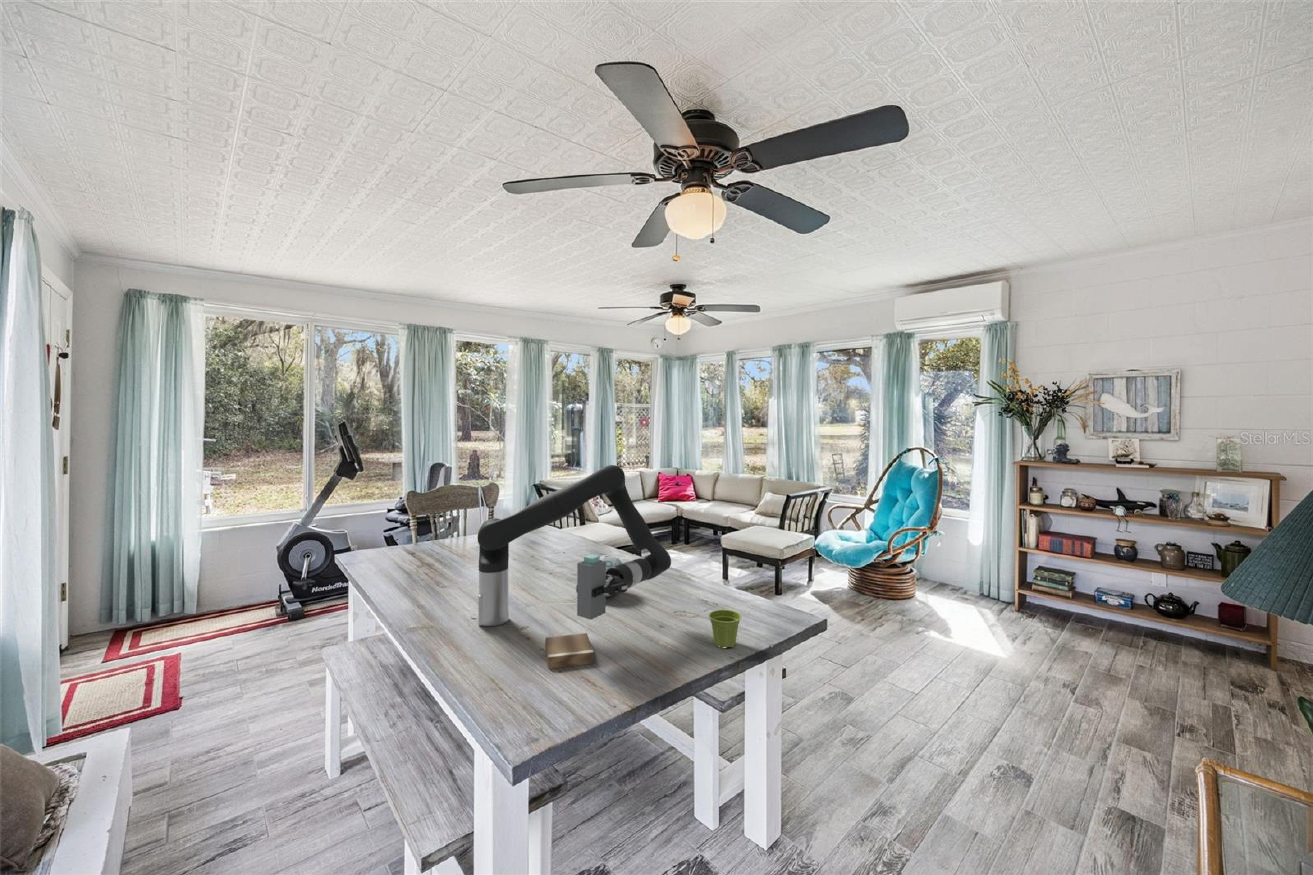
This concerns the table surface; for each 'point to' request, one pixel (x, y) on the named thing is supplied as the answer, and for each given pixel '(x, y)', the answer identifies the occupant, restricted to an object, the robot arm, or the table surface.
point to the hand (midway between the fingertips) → (585, 591)
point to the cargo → (591, 559)
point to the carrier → (590, 589)
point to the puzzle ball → (610, 563)
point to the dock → (568, 650)
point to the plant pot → (724, 627)
